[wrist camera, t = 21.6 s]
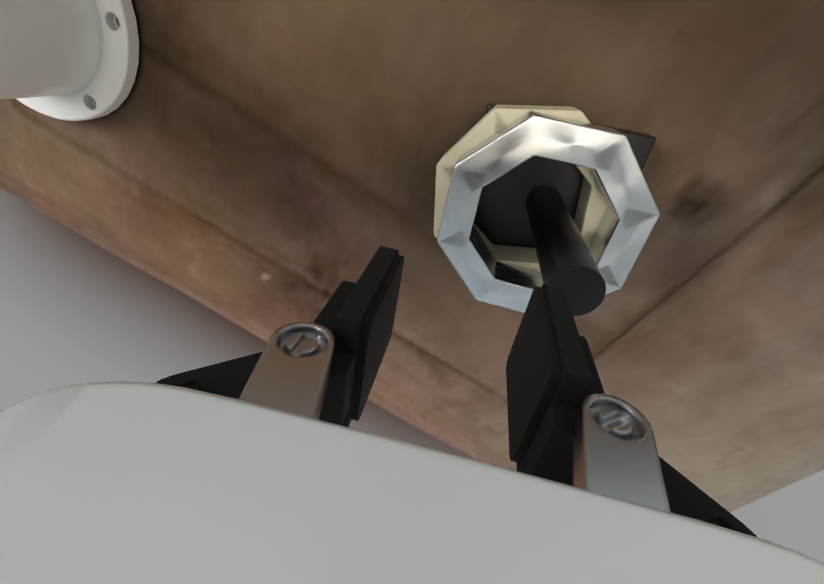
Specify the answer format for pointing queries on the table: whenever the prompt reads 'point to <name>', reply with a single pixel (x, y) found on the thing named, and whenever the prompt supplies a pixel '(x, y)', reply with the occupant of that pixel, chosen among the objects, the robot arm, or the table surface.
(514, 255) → the ivory ring
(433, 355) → the table surface
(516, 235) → the stand
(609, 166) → the steel ring
